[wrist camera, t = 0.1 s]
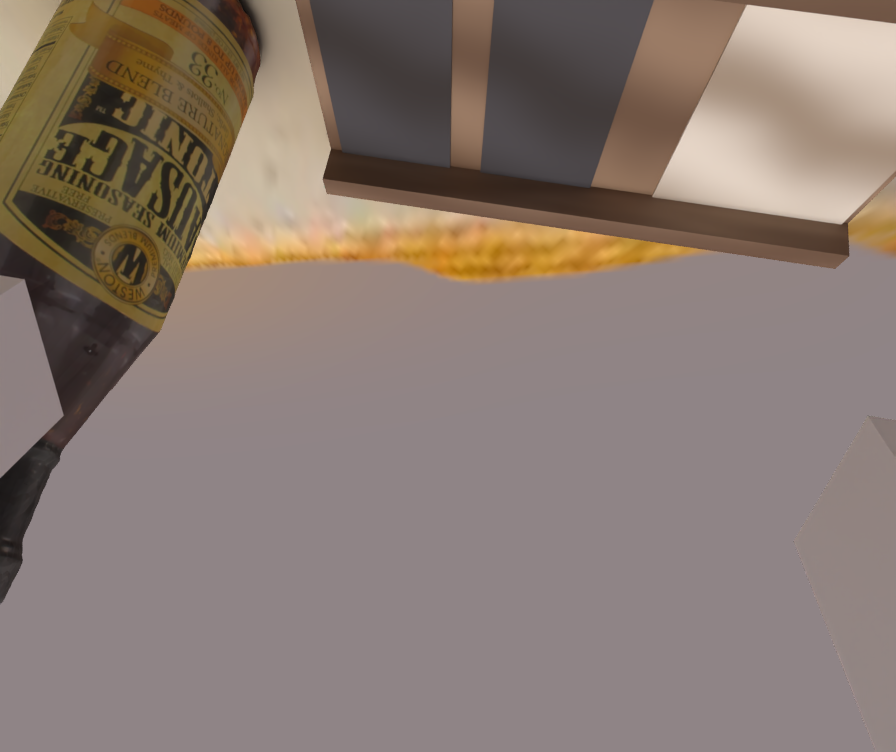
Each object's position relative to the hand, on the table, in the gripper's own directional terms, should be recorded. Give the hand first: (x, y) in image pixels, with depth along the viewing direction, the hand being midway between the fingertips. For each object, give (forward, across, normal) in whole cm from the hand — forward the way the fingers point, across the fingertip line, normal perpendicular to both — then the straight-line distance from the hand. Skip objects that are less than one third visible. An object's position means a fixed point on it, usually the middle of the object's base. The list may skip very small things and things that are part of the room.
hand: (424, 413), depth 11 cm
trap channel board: (+16, +4, +3) cm, 17 cm away
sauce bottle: (+17, -12, +3) cm, 21 cm away
